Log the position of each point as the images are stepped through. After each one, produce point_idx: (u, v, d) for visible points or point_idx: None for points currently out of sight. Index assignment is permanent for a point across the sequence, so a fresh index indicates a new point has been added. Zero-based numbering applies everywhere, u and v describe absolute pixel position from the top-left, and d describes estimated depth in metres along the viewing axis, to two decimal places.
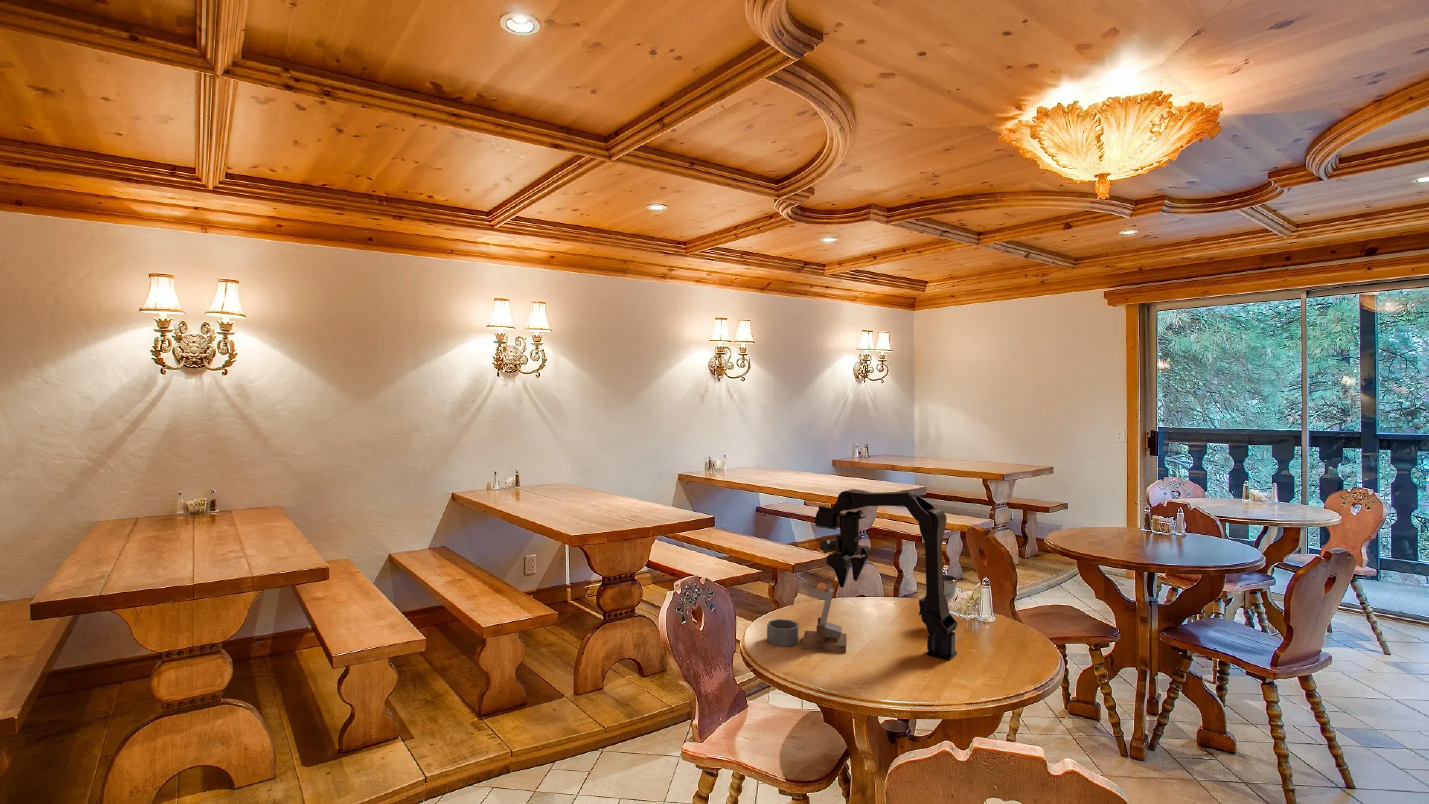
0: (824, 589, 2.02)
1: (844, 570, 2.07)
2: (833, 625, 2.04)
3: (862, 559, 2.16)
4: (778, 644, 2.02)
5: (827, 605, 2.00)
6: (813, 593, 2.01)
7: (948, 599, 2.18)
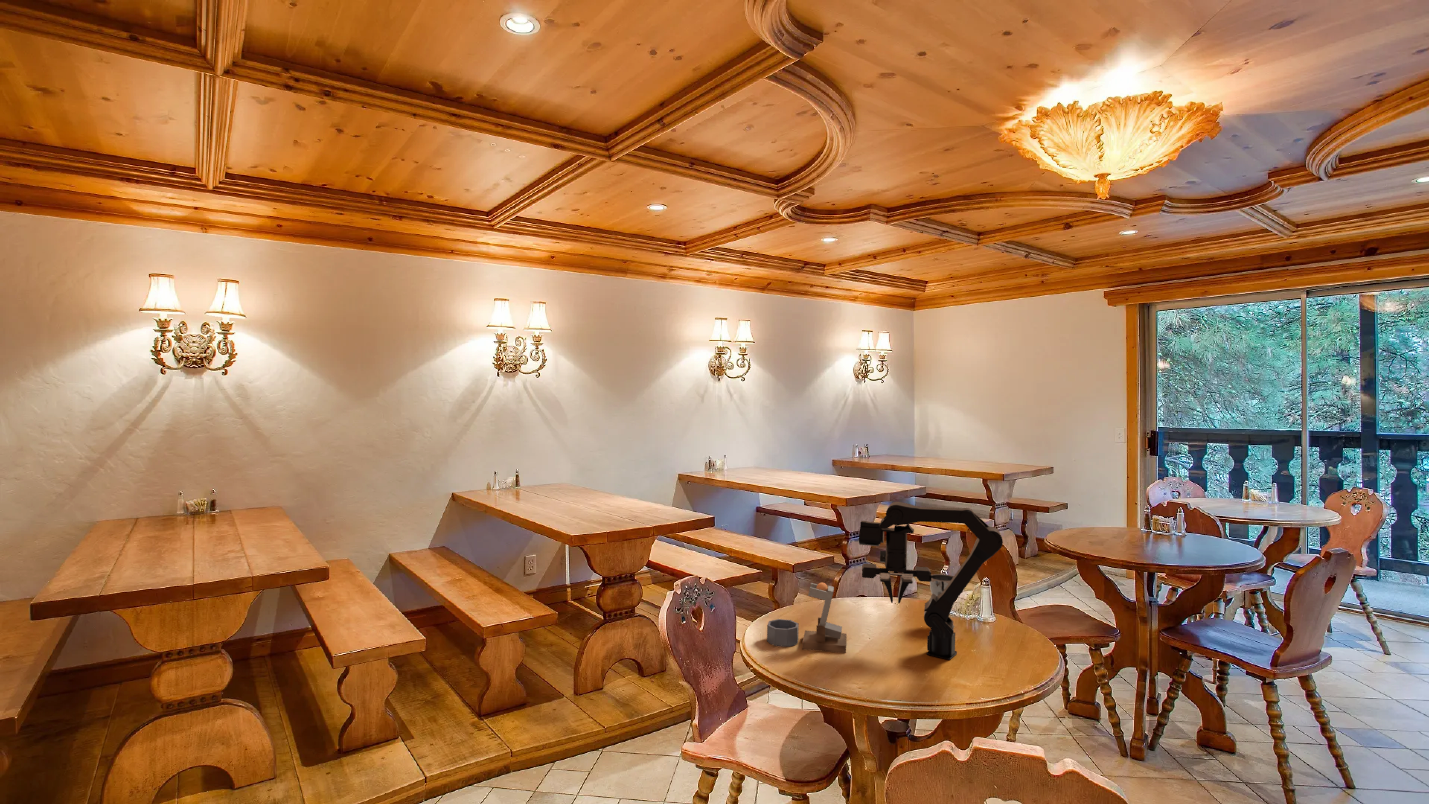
0: (824, 589, 2.02)
1: None
2: (833, 625, 2.04)
3: (901, 581, 1.98)
4: (778, 644, 2.02)
5: (827, 605, 2.00)
6: (813, 593, 2.01)
7: None
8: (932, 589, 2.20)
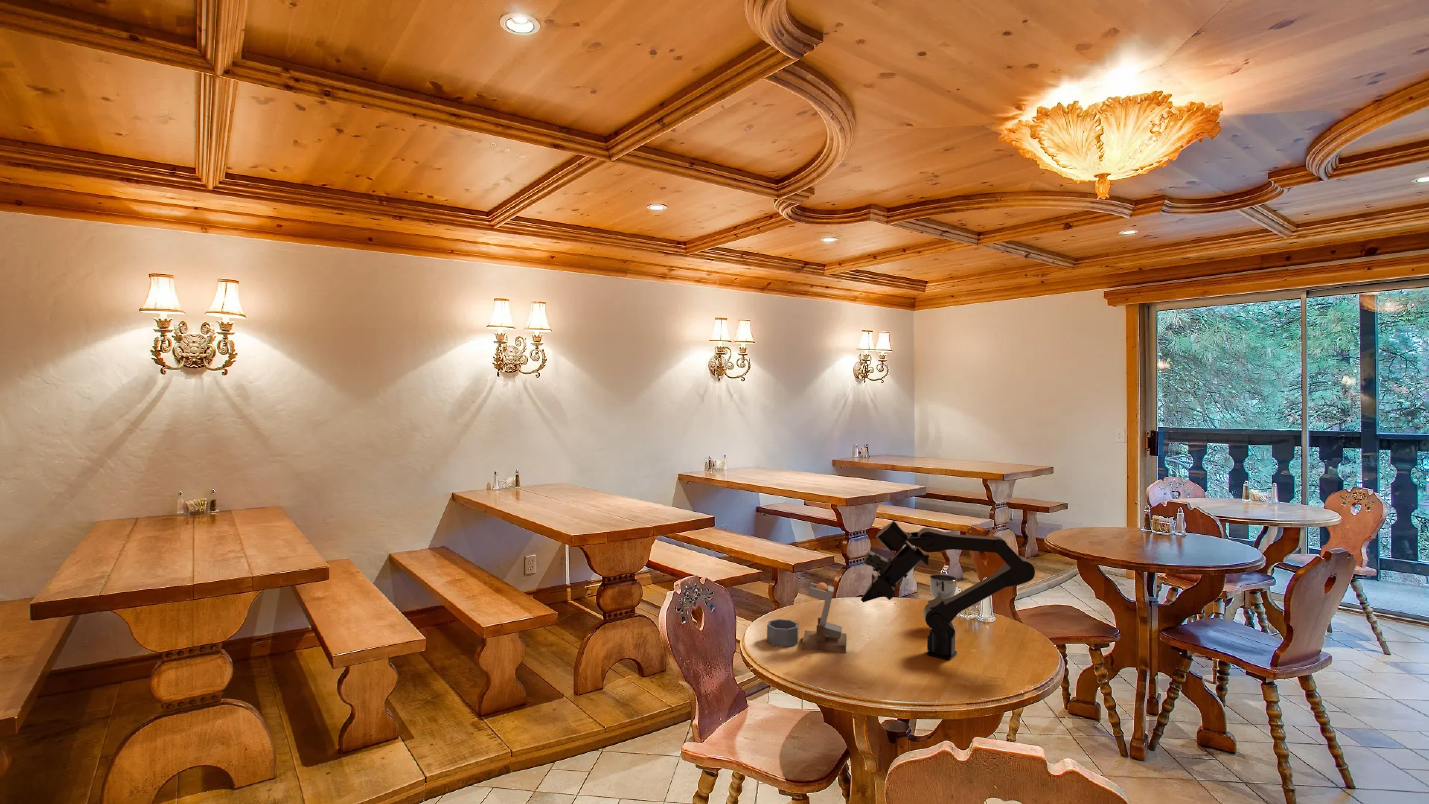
0: (824, 589, 2.02)
1: (880, 593, 1.98)
2: (833, 625, 2.04)
3: None
4: (778, 644, 2.02)
5: (827, 605, 2.00)
6: (813, 593, 2.01)
7: None
8: (932, 589, 2.20)
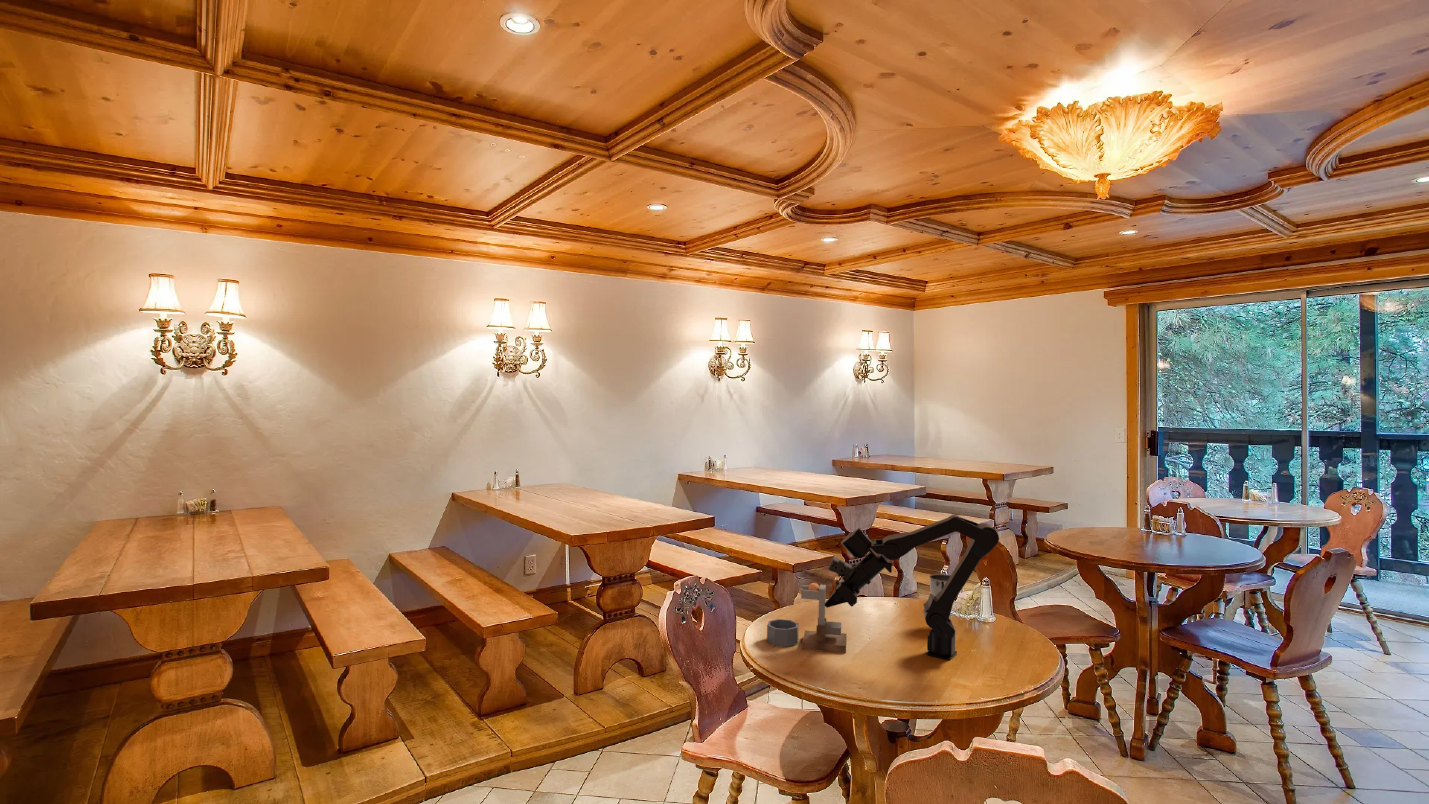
0: (816, 589, 2.02)
1: (844, 599, 2.00)
2: (832, 622, 2.04)
3: None
4: (778, 644, 2.02)
5: (822, 604, 2.01)
6: (806, 595, 2.02)
7: None
8: (932, 589, 2.20)
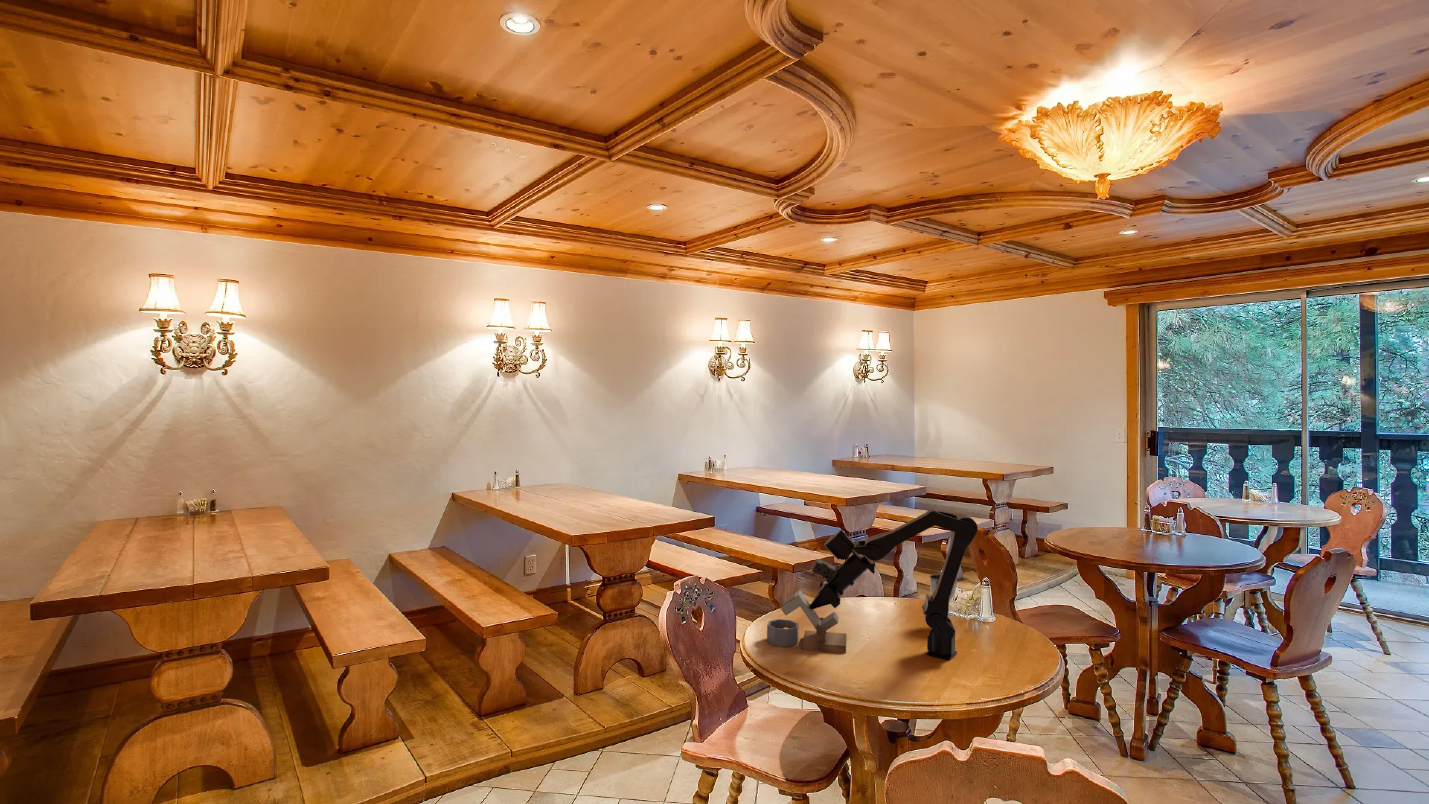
0: None
1: (828, 601, 2.01)
2: (827, 617, 2.04)
3: None
4: (778, 644, 2.02)
5: (805, 608, 2.02)
6: (787, 610, 2.03)
7: None
8: (932, 589, 2.20)
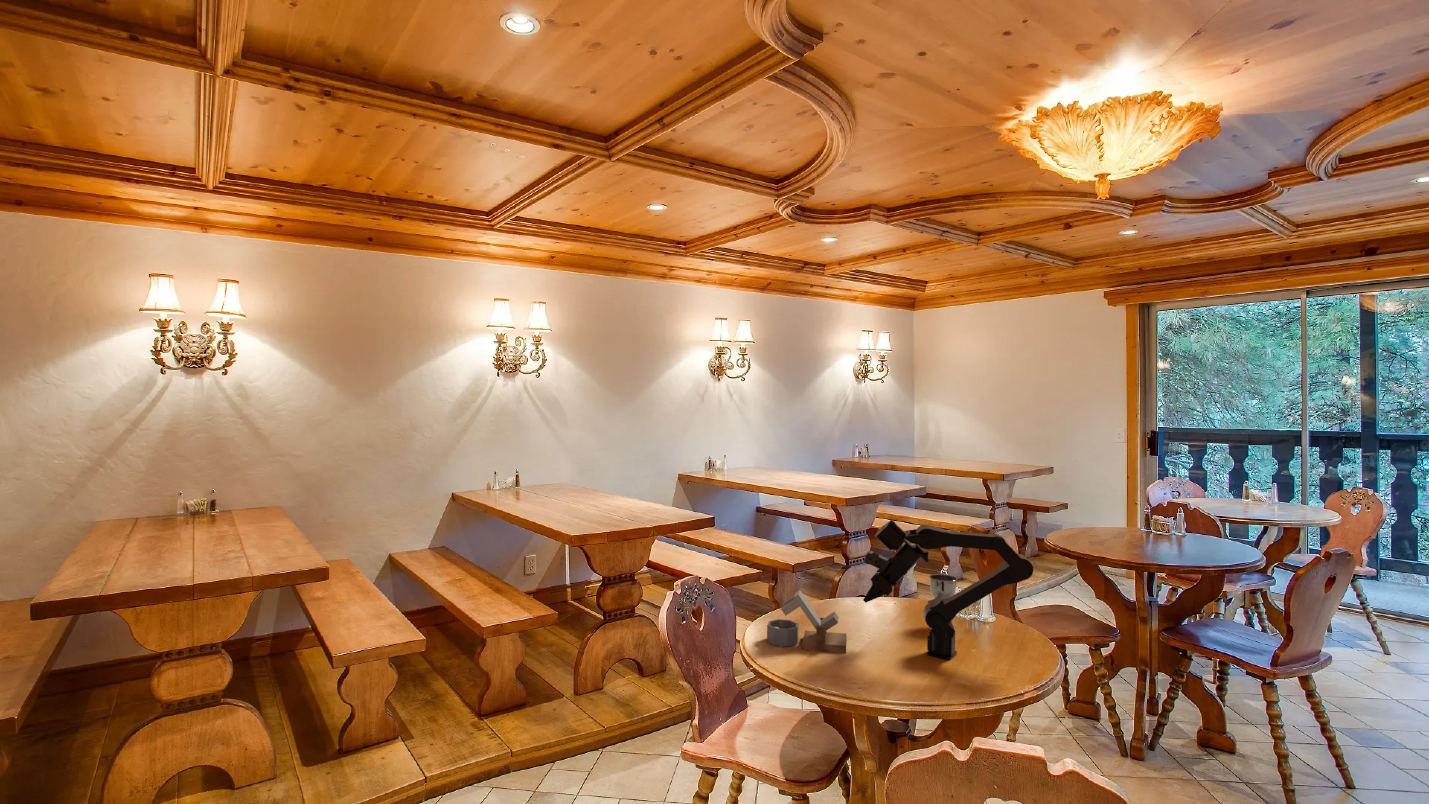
0: None
1: (881, 592, 1.98)
2: (827, 617, 2.04)
3: None
4: (778, 644, 2.02)
5: (805, 608, 2.02)
6: (787, 610, 2.03)
7: None
8: (932, 589, 2.20)
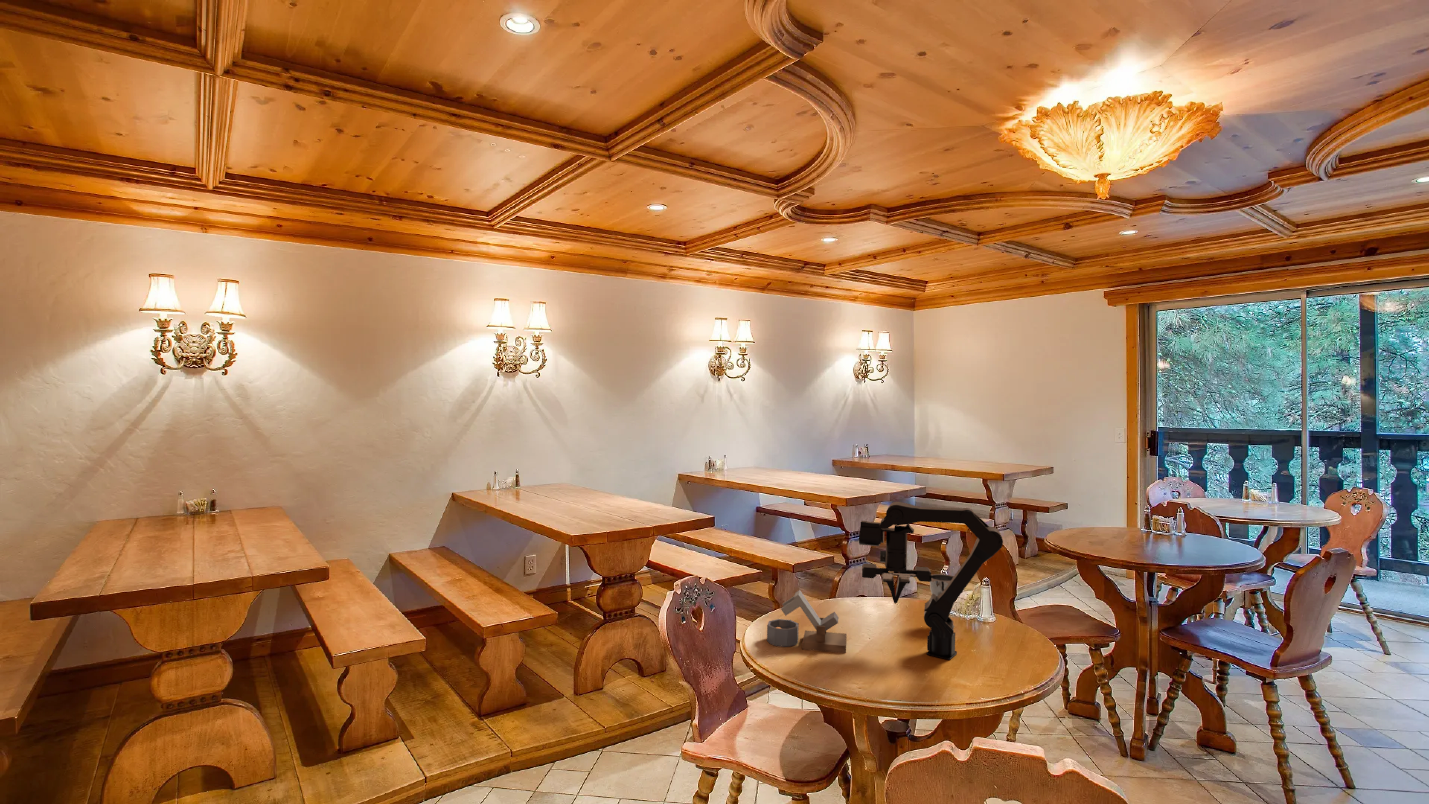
0: None
1: None
2: (827, 617, 2.04)
3: (898, 581, 1.98)
4: (778, 644, 2.02)
5: (805, 608, 2.02)
6: (787, 610, 2.03)
7: None
8: (932, 589, 2.20)
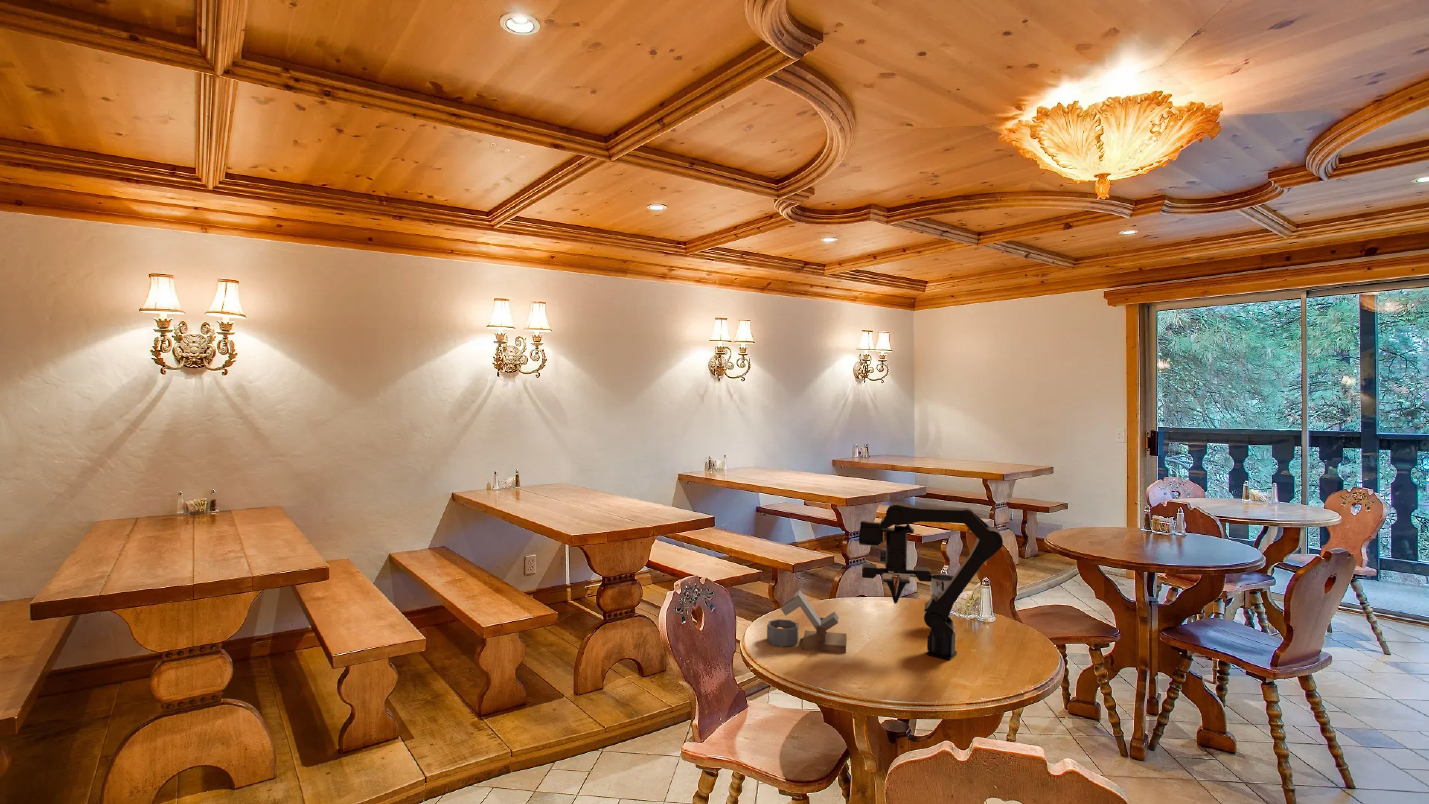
0: None
1: None
2: (827, 617, 2.04)
3: (898, 581, 1.98)
4: (778, 644, 2.02)
5: (805, 608, 2.02)
6: (787, 610, 2.03)
7: None
8: (932, 589, 2.20)
